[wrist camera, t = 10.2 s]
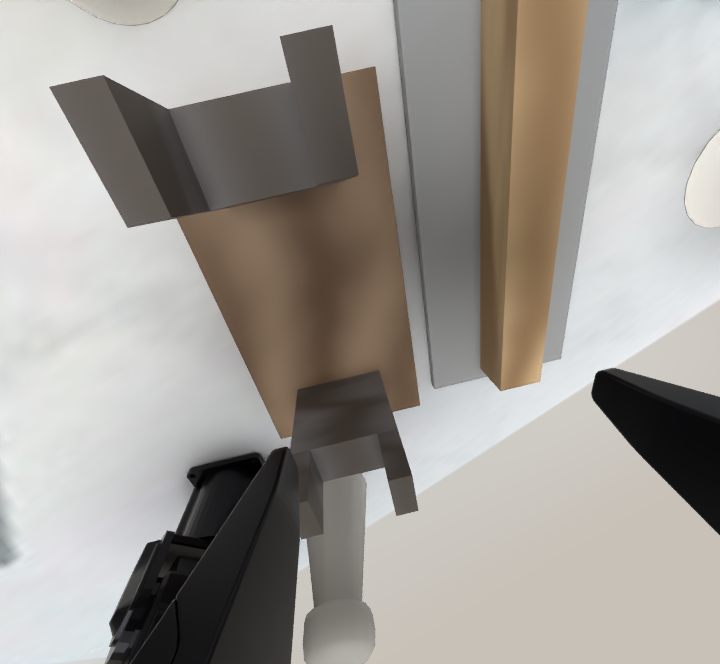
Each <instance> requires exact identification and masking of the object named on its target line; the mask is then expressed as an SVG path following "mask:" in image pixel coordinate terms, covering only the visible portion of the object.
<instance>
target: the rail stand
mask: <svg viewBox="0 0 720 664" xmlns="http://www.w3.org/2000/svg"><path fill="white" fill-rule="evenodd" d="M280 39H281V43H282V47H283V52H284V56H285V60H286V64H287V68H288V72H289V76H290V80H291V82H290V83H285V84H281V85H276V86H272V87H267V88H263V89H258V90H253V91H249V92H244V93H240V94H235V95H231V96H226V97H222V98H217V99H213V100H208V101H204V102H199V103H195V104H190V105H186V106H181V107H177V108H172V109H167V108H165V107H163V106H161V105H159V104H157V103H155V102H153V101H151V100H149V99H148V98H146V97H144V96H142V95H140V94H138V93H136V92H134V91H132V90H130V89H128V88H126V87H125V86H123V85H121V84H119V83H117V82H115V81H113V80H111V79H109V78H107V77H105V76H103V75H102V76H97V77H93V78H88V79H83V80H79V81H74V82H70V83H65V84H61V85H56V86H51V87H50V89H51V91H52V93H53V95H54V96H55V98H56V100H57V102H58V104H59V105H60V107H61V109H62V111H63V113H64V114H65V116H66V118H67V120H68V122H69V123H70V125H71V127H72V129H73V131H74V132H75V134H76V136H77V138H78V139H79V141H80V143H81V145H82V147H83V148H84V150H85V152H86V154H87V156H88V157H89V159H90V161H91V163H92V165H93V166H94V168H95V170H96V172H97V174H98V175H99V177H100V179H101V181H102V183H103V184H104V186H105V188H106V190H107V191H108V193H109V195H110V197H111V199H112V200H113V202H114V204H115V206H116V208H117V209H118V211H119V213H120V215H121V217H122V218H123V220H124V222H125V224H126V226H127V227H128V228H130V227H135V226H140V225H145V224H150V223H155V222H160V221H165V220H170V219H175V218H177V220H178V222H179V224H180V226H181V229H182V231H183V233H184V235H185V237H186V239H187V241H188V243H189V245H190V248H191V250H192V252H193V254H194V256H195V258H196V260H197V262H198V264H199V267H200V269H201V271H202V273H203V275H204V277H205V279H206V281H207V283H208V286H209V288H210V290H211V292H212V294H213V296H214V298H215V300H216V302H217V305H218V307H219V309H220V311H221V313H222V315H223V317H224V319H225V321H226V324H227V326H228V328H229V330H230V332H231V334H232V336H233V338H234V341H235V343H236V345H237V347H238V349H239V351H240V353H241V355H242V357H243V360H244V362H245V364H246V366H247V368H248V370H249V372H250V374H251V376H252V379H253V381H254V383H255V385H256V387H257V389H258V391H259V393H260V395H261V398H262V400H263V402H264V404H265V406H266V408H267V410H268V412H269V414H270V417H271V419H272V421H273V423H274V425H275V427H276V429H277V431H278V434H279V436H280V438H281V439H282V438H286V437H291V436H292V440H291V448H290V451H291V453H292V455H293V458H294V460H295V462H296V464H297V467H298V473H299V505H300V538H301V539H305V538H309V537H313V536H317V535H321V534H324V526H323V482H326V481H330V480H334V479H338V478H342V477H347V476H351V475H355V474H359V473H363V472H367V471H371V470H375V469H379V468H383V467H385V470H386V474H387V479H388V483H389V487H390V491H391V495H392V499H393V503H394V508H395V512H396V515H397V516H398V515H402V514H406V513H410V512H414V511H418V506H417V501H416V495H415V489H414V483H413V478H412V474H411V470H410V467H409V464H408V461H407V458H406V454H405V451H404V448H403V445H402V442H401V439H400V435H399V432H398V429H397V426H396V423H395V420H394V416H393V413H392V412H394V411H398V410H403V409H407V408H411V407H415V406H419V405H420V401H419V394H418V386H417V379H416V371H415V363H414V356H413V348H412V341H411V333H410V326H409V318H408V311H407V303H406V295H405V288H404V280H403V273H402V265H401V258H400V250H399V243H398V235H397V227H396V220H395V212H394V205H393V197H392V190H391V182H390V175H389V167H388V159H387V152H386V144H385V137H384V129H383V122H382V114H381V107H380V99H379V92H378V84H377V76H376V69H375V67H370V68H366V69H361V70H357V71H352V72H347V73H343V74H341V72H340V66H339V60H338V55H337V49H336V43H335V38H334V32H333V27H332V25H330V26H326V27H321V28H316V29H312V30H307V31H303V32H298V33H294V34H289V35H284V36H280Z"/></svg>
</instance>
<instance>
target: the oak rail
mask: <svg viewBox="0 0 720 664" xmlns="http://www.w3.org/2000/svg"><path fill="white" fill-rule="evenodd" d="M587 8H588V0H481V177H480V368H481V370H482V371H483V372H484V373H485V374H486V375H487V376H488V377H489V379H490V380H491V381H492V382H493V383H494V384H495V385H496V386H497V388H498V389H499V390H500V391H503V390H507V389H511V388H516V387H520V386H524V385H528V384H532V383H536V382H540V378H541V371H542V363H543V355H544V347H545V339H546V331H547V323H548V315H549V307H550V300H551V292H552V284H553V276H554V268H555V260H556V252H557V244H558V236H559V229H560V221H561V213H562V205H563V197H564V189H565V181H566V173H567V165H568V157H569V150H570V142H571V134H572V126H573V118H574V110H575V102H576V94H577V86H578V79H579V71H580V63H581V55H582V47H583V39H584V31H585V23H586V15H587Z"/></svg>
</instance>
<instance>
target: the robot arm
mask: <svg viewBox="0 0 720 664" xmlns="http://www.w3.org/2000/svg"><path fill="white" fill-rule="evenodd" d="M591 394H592V398H593V400H594V402H595V403H596V404H597V405H598V407H599V408H600V409H601V410H602V411H603V413H604V414H605V415H606V416H607V417H608V418H609V420H610V421H611V422H612V423H613V425H614V426H615V427H616V428H617V429H618V430H619V432H620V433H621V434H622V435H623V436H624V438H625V439H626V440H627V441H628V442H629V443H630V445H631V446H632V447H633V448H634V449H635V450H636V451H637V452H638V453H639V454H640V455H641V456H642V458H643V459H644V460H645V461H647V463H648V464H649V465H650V466H651V467H652V468H654V469H655V471H656V472H657V473H658V474H659V475H661V477H662V478H663V479H664V480H665V481H666V482H667V483H668V484H669V485H670V486H671V487H672V488H673V489H674V490H675V491H676V492H677V493H678V494H679V495H680V496H681V497H682V498H683V499H684V500H685V501H686V502H687V503H688V504H689V505H690V506H691V507H692V508H693V509H694V510H695V511H696V512H697V513H698V514H699V515H700V516H701V517H702V518H703V519H704V520H705V521H706V522H707V523H708V524H709V525H710V526H711V527H712V528H713V529H714V530H715V531H716V532H717V533H718V534H719V535H720V397H718V396H715V395H711V394H707V393H704V392H700V391H696V390H693V389H689V388H685V387H682V386H678V385H674V384H671V383H667V382H664V381H660V380H656V379H653V378H649V377H646V376H642V375H638V374H635V373H631V372H627V371H624V370H620V369H616V368H610V369H605V370H601V371H598V372H597V373H596V375H595V379H594V383H593V387H592V392H591ZM254 459H255V460H254ZM187 478H188V479H189V480H190V482H191V483H192V484H193V486H194V487H195V488H194V490H193V493H192V495H191V497H190V500H189V502H188V504H187V507H186V509H185V511H184V514H183V516H182V518H181V521H180V523H179V525H178V528H177V530H176V532H172V531H166V533H165V535H164V536H163V538H162V540H158V541H154V542H150V543H147V545H146V546H145V548H144V550H143V552H142V554H141V556H140V558H139V560H138V562H137V564H136V567H135V569H134V571H133V573H132V575H131V577H130V579H129V581H128V583H127V585H126V587H125V590H124V592H123V594H122V596H121V598H120V601H119V603H118V605H117V607H116V609H115V612H114V614H113V616H112V618H111V620H110V623H109V625H110V628H111V632H112V636H113V637H112V640H111V642H110V645H109V647H111V649H110V651H109V654H108V656H107V659H106V662H105V664H291V652H292V638H293V624H294V611H295V598H296V597H295V596H296V584H297V570H298V556H299V543H300V505H299V473H298V467H297V464H296V462H295V460H294V458H293V455H292V453H291V451H290V449H289V448H288V447H283V448H279V449H275V450H273V451H272V452H271V454H270V455H269V457H268V458H267V460H266V461H265V463H264V462H263V460H262V458H261V457H260V455H258V454H250V455H246V456H242V457H238V458H234V459H230V460H226V461H222V462H217V463H213V464H209V465H205V466H201V467H197V468H193V469H190V470H189V472H188V474H187Z"/></svg>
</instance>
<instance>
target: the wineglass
mask: <svg viewBox="0 0 720 664" xmlns="http://www.w3.org/2000/svg"><path fill="white" fill-rule="evenodd" d="M685 206H686V211H687V215H688V216H689V218H690V219H691V220H692V221H693V222H694V223H695V224H696V225H699V226H702V227H706V228H710V227H719V226H720V130H719V131H718V132H717V134H716V135H715V136H714V137H713V138H712V139H711V140H710V141H709V142H708V144H707V145H706V147H705V149H704V150H703V152H702V153H701V155H700V156H699V158H698V160H697V161H696V163H695V165H694V167H693V170H692V172H691V175H690V177H689V180H688V182H687V187H686V195H685Z"/></svg>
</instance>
